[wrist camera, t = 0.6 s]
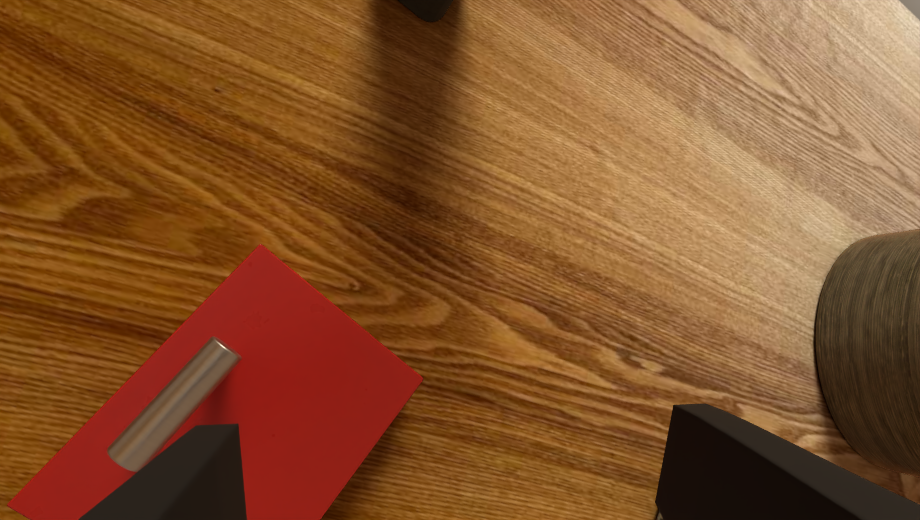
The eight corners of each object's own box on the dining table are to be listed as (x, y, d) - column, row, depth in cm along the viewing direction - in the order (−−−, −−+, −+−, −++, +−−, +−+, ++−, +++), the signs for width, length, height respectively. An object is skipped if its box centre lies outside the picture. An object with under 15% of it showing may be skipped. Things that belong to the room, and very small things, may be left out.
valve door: (12, 500, 19) (-49, 548, 15) (260, 244, 23) (262, 231, 19) (232, 631, 21) (229, 701, 17) (420, 377, 26) (451, 388, 22)
